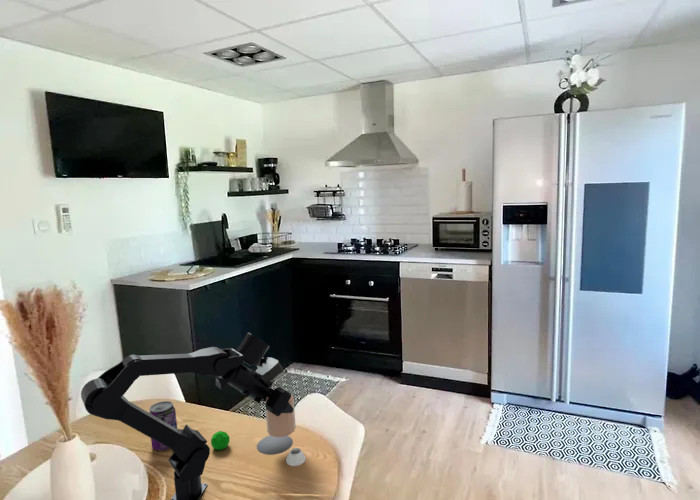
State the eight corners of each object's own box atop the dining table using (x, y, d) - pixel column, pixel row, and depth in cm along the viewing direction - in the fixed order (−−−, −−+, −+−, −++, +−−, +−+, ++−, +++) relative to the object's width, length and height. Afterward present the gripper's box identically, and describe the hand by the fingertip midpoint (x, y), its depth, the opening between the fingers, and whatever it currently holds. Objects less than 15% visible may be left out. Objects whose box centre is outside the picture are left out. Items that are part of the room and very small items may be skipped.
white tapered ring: (284, 458, 117) (288, 469, 112) (283, 448, 117) (288, 458, 112) (302, 454, 119) (307, 464, 114) (301, 443, 119) (307, 453, 114)
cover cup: (292, 436, 116) (290, 404, 115) (264, 437, 116) (262, 405, 115) (297, 422, 123) (295, 392, 122) (271, 422, 124) (269, 392, 123)
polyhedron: (207, 451, 122) (206, 435, 122) (220, 442, 127) (218, 426, 126) (221, 455, 120) (220, 438, 119) (233, 445, 124) (232, 429, 124)
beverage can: (169, 453, 122) (164, 412, 120) (146, 451, 123) (142, 411, 122) (183, 439, 129) (179, 400, 127) (162, 437, 130) (158, 399, 129)
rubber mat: (287, 455, 118) (287, 454, 118) (252, 455, 119) (251, 454, 119) (296, 435, 128) (296, 434, 128) (263, 435, 129) (262, 434, 129)
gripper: (282, 361, 107) (320, 389, 116) (245, 344, 121) (282, 370, 130) (255, 403, 103) (297, 429, 112) (221, 380, 117) (260, 405, 126)
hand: (284, 406), depth 120 cm, fingers closed on cover cup, 8 cm apart
